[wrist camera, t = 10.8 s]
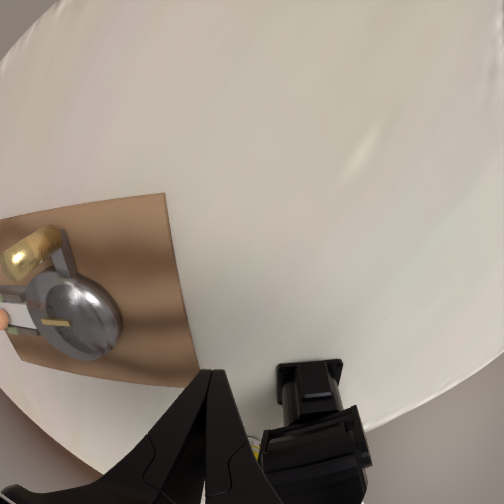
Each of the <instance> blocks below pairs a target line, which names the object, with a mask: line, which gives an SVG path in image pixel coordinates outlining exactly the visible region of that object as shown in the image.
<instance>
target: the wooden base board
mask: <svg viewBox="0 0 504 504" xmlns="http://www.w3.org/2000/svg"><path fill="white" fill-rule="evenodd" d="M47 224H51V225H54V226H55V227H56V228H57V229H58V230H65V233H66V236H67V240H68V243H69V247H70V250H71V253H72V257H73V260H74V263H75V266H76V269H77V272H78V273H79V274H81V275H82V276H85V277H87V278H89V279H91V280H93V281H95V282H96V283H98V284H99V285H101V286H102V287H103V288H104V289H105V290H106V291H107V292H108V293H109V294H110V295H111V297H112V298H113V299H114V301H115V302H116V304H117V306H118V308H119V310H120V312H121V315H122V320H123V329H122V333H121V335H120V336H119V338H118V340H117V342H116V344H115V345H114V347H113V349H112V350H111V351H110V352H108V353H106V354H103V355H102V356H101V357H100V358H98V359H96V360H92V361H83V360H78V359H75V358H72V357H70V356H68V355H66V354H64V353H62V352H61V351H59V350H58V349H56V348H55V347H54V346H52V345H51V344H50V343H49V342H48V341H47V340H46V339H45V338H44V337H43V336H42V334H41V333H40V332H39V330H38V329H33V328H27V327H22V326H16V325H11V324H8V326H7V328H6V329H4V330H5V332H6V334H7V335H8V337H9V339H10V341H11V343H12V345H13V346H14V348H15V350H16V352H17V353H18V355H19V357H20V358H21V360H22V361H26V362H29V363H33V364H37V365H40V366H44V367H48V368H52V369H57V370H61V371H66V372H70V373H75V374H80V375H85V376H91V377H96V378H102V379H108V380H115V381H122V382H130V383H138V384H147V385H157V386H169V387H183V388H186V387H187V386H188V385H189V383H190V382H191V381H192V380H193V378H194V377H195V376H196V375H197V374H198V372H199V371H200V369H199V365H198V361H197V357H196V353H195V349H194V345H193V341H192V337H191V332H190V328H189V324H188V319H187V315H186V310H185V306H184V301H183V296H182V291H181V286H180V281H179V276H178V271H177V265H176V260H175V254H174V249H173V243H172V237H171V231H170V224H169V218H168V211H167V204H166V197H165V193H159V194H150V195H141V196H133V197H125V198H118V199H111V200H104V201H97V202H90V203H84V204H78V205H72V206H66V207H60V208H55V209H50V210H44V211H39V212H34V213H29V214H24V215H20V216H15V217H10V218H6V219H2V220H0V257H1V254H2V253H3V252H4V251H6V250H7V249H9V248H10V247H12V246H13V245H15V244H16V243H18V242H19V241H21V240H22V239H24V238H25V237H27V236H29V235H30V234H32V233H33V232H35V231H37V230H38V229H40V228H42V227H43V226H45V225H47ZM49 266H54V263H53V260H52V257H51V256H50V257H49V258H48V259H46V260H45V261H44V262H43V263H41V264H40V265H39V266H38V267H36V268H35V269H34V270H33V271H31V272H30V273H29V274H28V275H27V276H25V277H24V278H23V279H22V280H21V281H19V282H18V283H14V282H12V281H10V280H9V279H8V278H7V276H6V275H5V274H4V272H3V270H2V267H1V262H0V302H4V301H14V302H23V301H24V300H25V299H26V289H27V286H28V284H29V282H30V281H31V280H32V279H33V278H34V277H35V276H36V275H38V274H39V273H40V272H41V271H42V270H44V269H45V268H47V267H49Z"/></svg>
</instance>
